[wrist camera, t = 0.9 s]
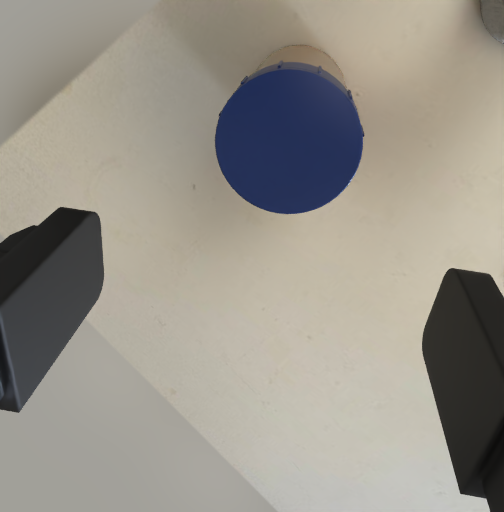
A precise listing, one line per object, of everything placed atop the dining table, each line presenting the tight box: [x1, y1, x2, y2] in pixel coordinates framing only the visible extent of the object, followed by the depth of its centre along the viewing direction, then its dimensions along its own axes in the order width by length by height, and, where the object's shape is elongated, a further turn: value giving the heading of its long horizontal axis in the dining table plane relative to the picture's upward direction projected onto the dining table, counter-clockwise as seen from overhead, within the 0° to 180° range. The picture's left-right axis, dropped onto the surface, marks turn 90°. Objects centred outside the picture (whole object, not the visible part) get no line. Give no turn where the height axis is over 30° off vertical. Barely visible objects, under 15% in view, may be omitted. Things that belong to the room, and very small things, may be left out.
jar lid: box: [215, 60, 364, 214], centre depth 19 cm, size 6×6×2 cm
